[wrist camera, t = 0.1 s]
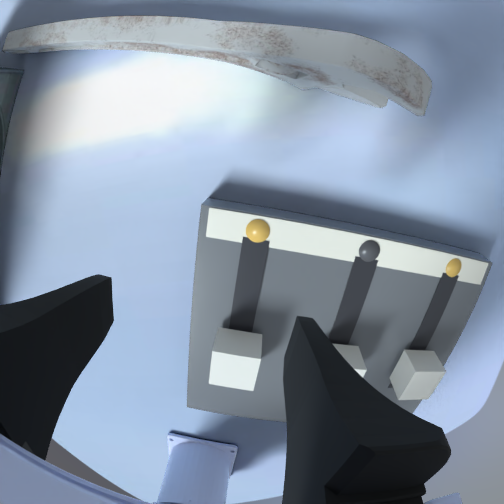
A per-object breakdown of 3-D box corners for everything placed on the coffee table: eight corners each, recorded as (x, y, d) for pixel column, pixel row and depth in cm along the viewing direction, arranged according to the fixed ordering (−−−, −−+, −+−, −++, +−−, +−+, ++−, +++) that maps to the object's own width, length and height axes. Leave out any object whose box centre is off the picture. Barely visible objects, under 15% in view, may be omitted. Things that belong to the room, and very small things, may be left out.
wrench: (45, 41, 18) (399, 100, 16) (39, 58, 18) (391, 125, 17) (-19, 29, 10) (453, 75, 8) (-26, 51, 11) (444, 114, 9)
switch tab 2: (418, 378, 21) (428, 399, 19) (389, 377, 21) (398, 400, 19) (433, 350, 20) (446, 371, 18) (404, 349, 20) (415, 371, 18)
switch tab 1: (255, 365, 21) (253, 391, 19) (214, 359, 21) (208, 383, 19) (262, 334, 20) (261, 359, 18) (218, 326, 20) (212, 351, 18)
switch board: (399, 410, 26) (405, 424, 24) (191, 391, 26) (186, 408, 24) (479, 253, 20) (493, 263, 18) (207, 197, 20) (200, 205, 18)
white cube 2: (345, 375, 21) (351, 399, 19) (308, 372, 21) (311, 397, 19) (358, 346, 20) (366, 369, 18) (319, 342, 20) (324, 366, 18)
